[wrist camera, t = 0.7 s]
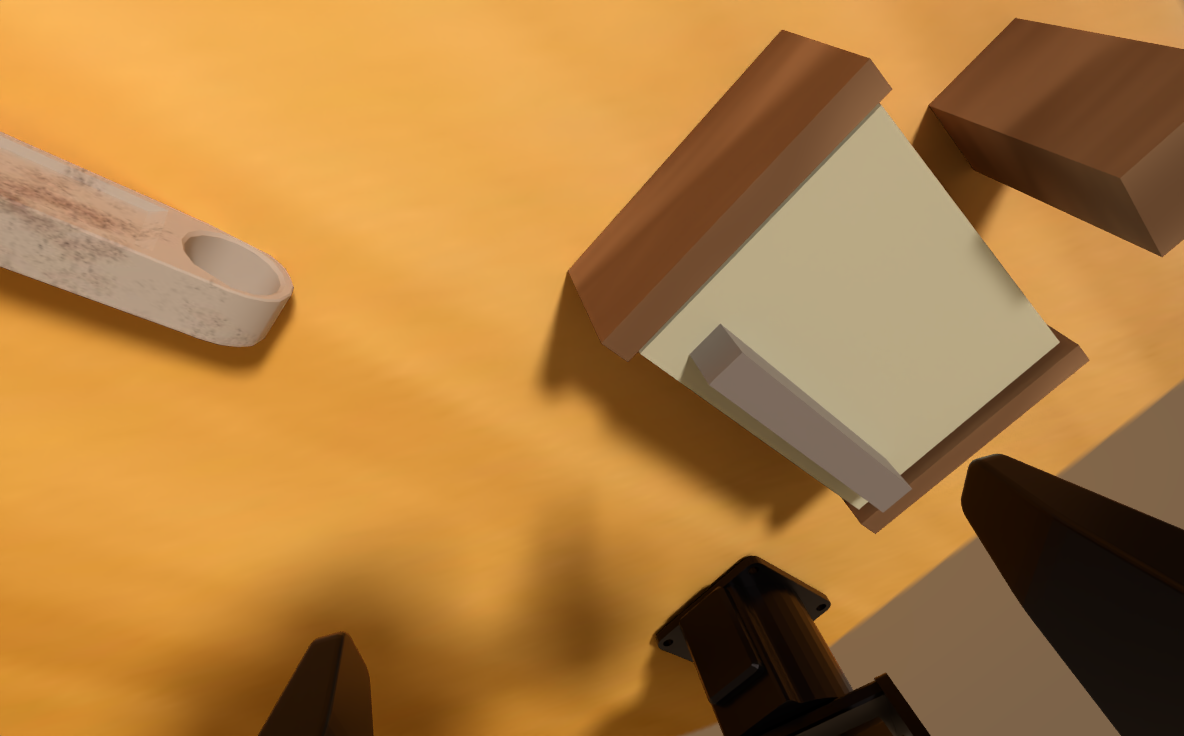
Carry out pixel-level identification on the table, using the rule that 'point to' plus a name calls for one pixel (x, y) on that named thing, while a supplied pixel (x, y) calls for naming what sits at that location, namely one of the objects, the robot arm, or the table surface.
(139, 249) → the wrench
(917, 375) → the cream cabinet door
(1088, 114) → the brown rectangular block
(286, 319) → the table surface
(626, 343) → the wooden tray
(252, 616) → the table surface
